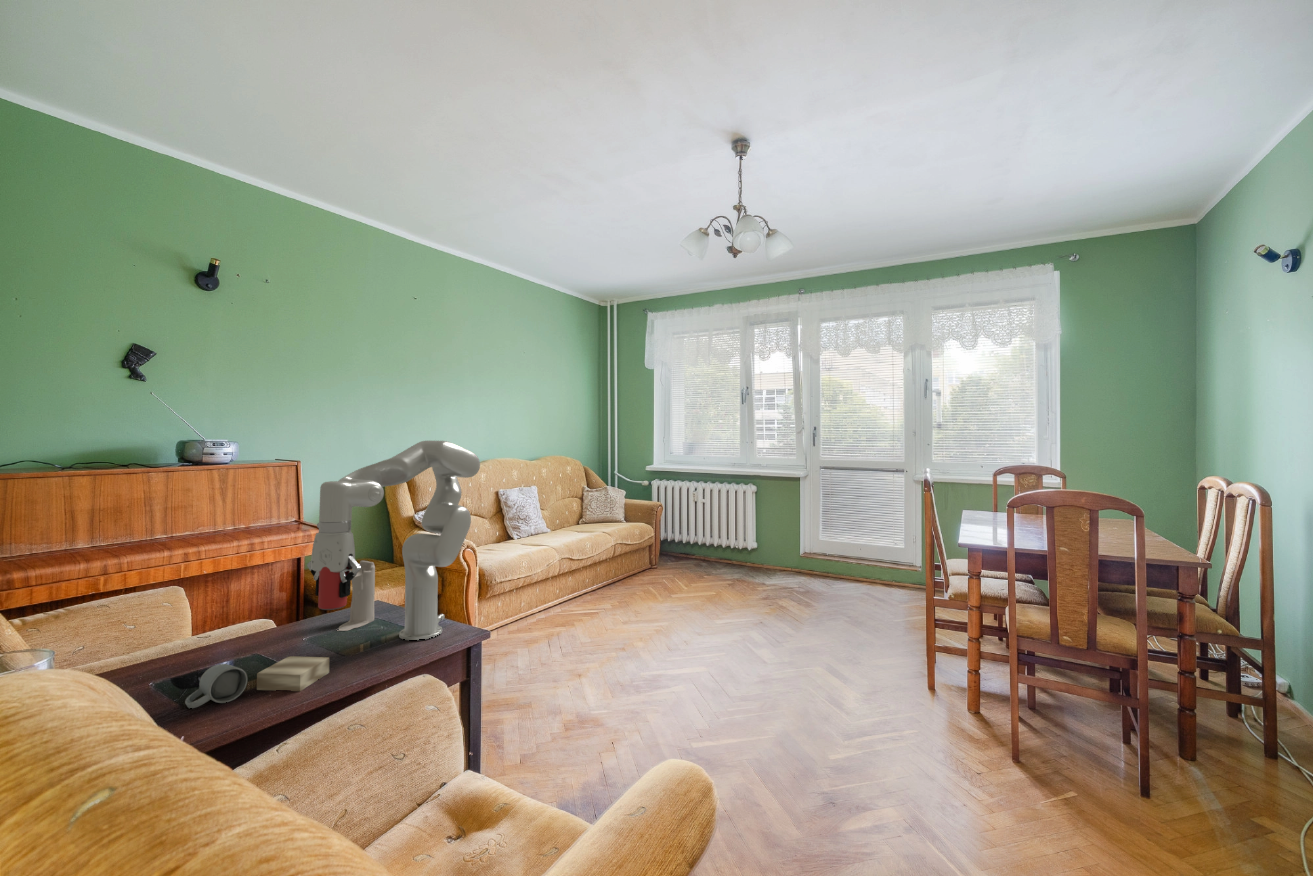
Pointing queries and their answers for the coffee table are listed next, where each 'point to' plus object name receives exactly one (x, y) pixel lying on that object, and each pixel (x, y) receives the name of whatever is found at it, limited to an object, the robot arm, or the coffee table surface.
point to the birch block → (293, 673)
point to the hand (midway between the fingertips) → (332, 594)
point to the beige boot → (362, 597)
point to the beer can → (330, 590)
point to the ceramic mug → (219, 685)
